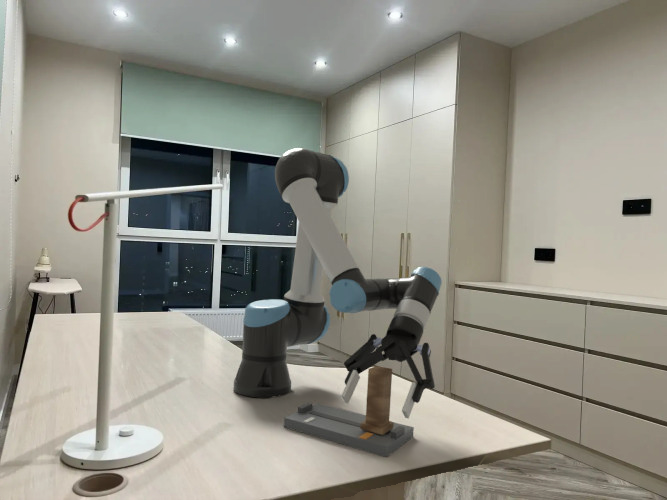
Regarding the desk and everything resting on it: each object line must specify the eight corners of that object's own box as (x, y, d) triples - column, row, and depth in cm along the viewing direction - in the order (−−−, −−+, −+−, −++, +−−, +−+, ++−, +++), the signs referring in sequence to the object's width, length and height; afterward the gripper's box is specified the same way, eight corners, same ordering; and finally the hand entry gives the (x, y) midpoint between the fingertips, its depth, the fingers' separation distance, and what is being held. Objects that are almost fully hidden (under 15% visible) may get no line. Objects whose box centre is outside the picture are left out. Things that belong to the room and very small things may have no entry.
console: (284, 426, 108) (284, 412, 108) (317, 411, 119) (318, 397, 119) (386, 457, 95) (387, 440, 95) (413, 436, 106) (414, 421, 106)
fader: (360, 429, 103) (363, 369, 103) (371, 422, 107) (375, 364, 107) (382, 435, 100) (386, 373, 100) (393, 427, 104) (396, 368, 104)
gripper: (465, 343, 110) (437, 431, 98) (364, 327, 123) (327, 403, 111) (459, 321, 106) (428, 411, 93) (354, 307, 119) (315, 384, 106)
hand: (373, 407), depth 102 cm, fingers open, 13 cm apart
